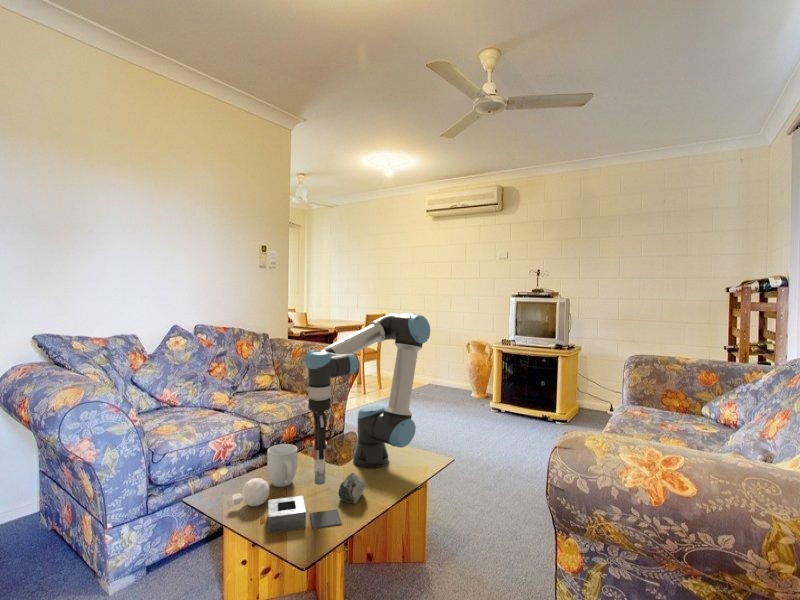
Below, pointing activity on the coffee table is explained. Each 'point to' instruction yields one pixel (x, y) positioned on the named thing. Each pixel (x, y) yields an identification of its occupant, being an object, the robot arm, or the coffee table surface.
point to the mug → (282, 464)
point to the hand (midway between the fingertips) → (320, 464)
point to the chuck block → (286, 514)
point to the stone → (351, 488)
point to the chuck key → (318, 472)
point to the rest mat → (325, 519)
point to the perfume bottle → (253, 493)
